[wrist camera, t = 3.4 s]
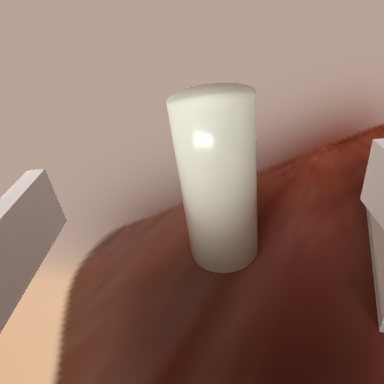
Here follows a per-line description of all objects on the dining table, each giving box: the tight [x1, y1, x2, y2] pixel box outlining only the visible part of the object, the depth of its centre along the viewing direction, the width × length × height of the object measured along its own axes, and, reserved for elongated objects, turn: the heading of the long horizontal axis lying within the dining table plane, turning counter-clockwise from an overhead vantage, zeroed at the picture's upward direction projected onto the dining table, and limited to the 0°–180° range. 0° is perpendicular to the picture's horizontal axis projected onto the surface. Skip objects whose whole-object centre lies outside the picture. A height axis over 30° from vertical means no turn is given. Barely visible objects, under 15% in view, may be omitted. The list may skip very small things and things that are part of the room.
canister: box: [166, 83, 258, 273], centre depth 25 cm, size 6×6×14 cm
